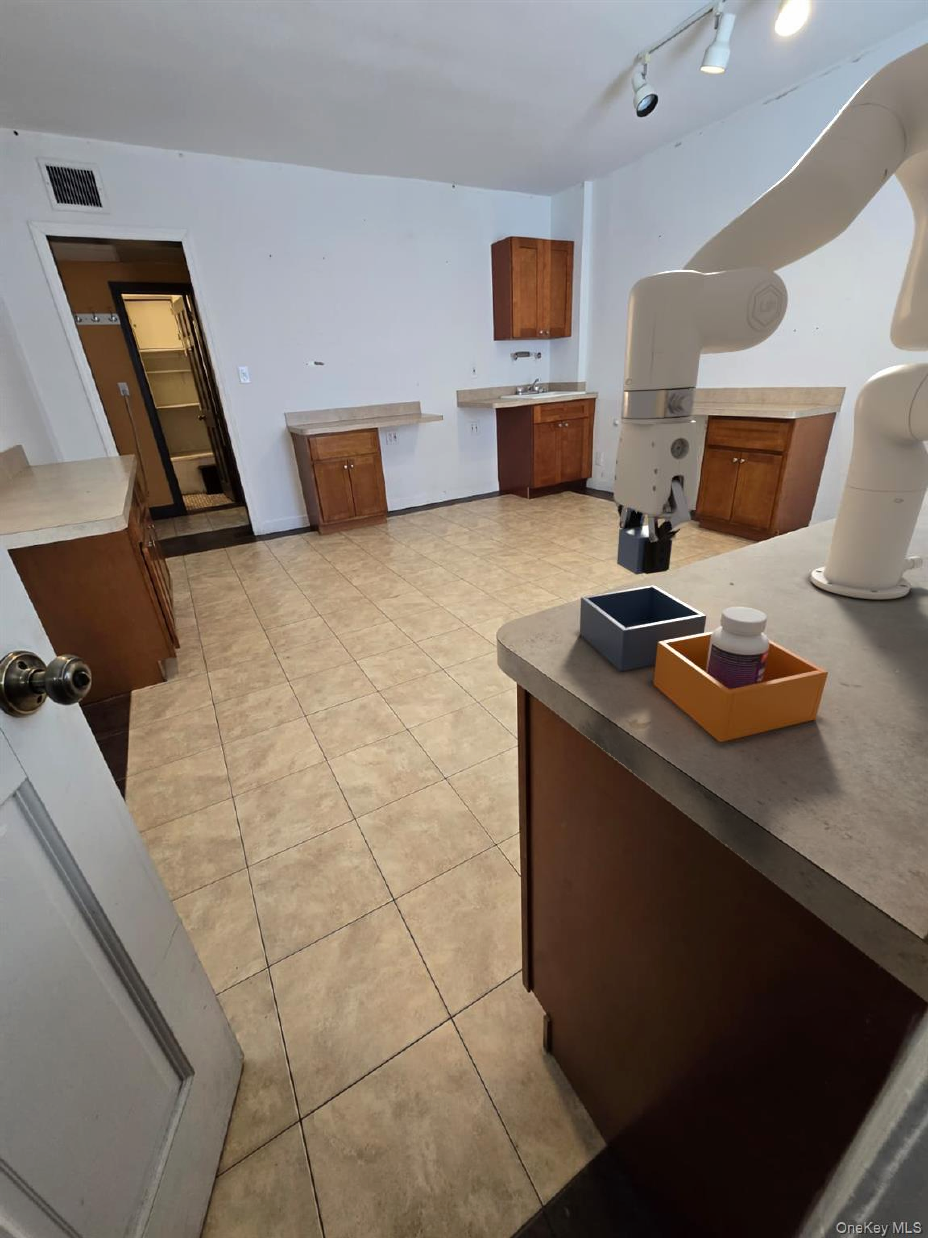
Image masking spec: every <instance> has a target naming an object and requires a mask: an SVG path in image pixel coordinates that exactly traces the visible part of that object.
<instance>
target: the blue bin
mask: <svg viewBox="0 0 928 1238" xmlns="http://www.w3.org/2000/svg"><path fill="white" fill-rule="evenodd" d="M579 614H580V615H579V634H580V636H581V637H583V638H584V639H585V640H586V641H587V642H588V643H589V644H590V645H591V646H593V647H594V649H596V650H597V651H598V652H599V653H600V654H601V655H602V656H603V657H604V658H606V659H607V660H608V661H609V662H610V663H611V664H612V665H613V666H614V667H615V668H616V669H618V671H619V672H625V671H631V670H635V669H641V668H646V667H650V666H656V656H657V647H658V642H660V641H665V640H670V639H675V638H681V637H686V636H691V635H696V634H702V633H705V629H706V622H707V615H706V614H704V613H703V612H701V611H699V610H698V609H696V608H694V607H692V606H690V605H689V604H688V603H686V602H684V601H682V600H680V599H679V598H677V597H675V596H673V595H671V594H670V593H668V592H666V591H664V590H662V589H661V588H659V587H658V586H656V585H653V584H652V585H648V586H641V587H635V588H628V589H623V590H617V591H610V592H605V593H598V594H592V595H586V596H580V613H579Z"/></svg>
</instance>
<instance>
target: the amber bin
mask: <svg viewBox="0 0 928 1238" xmlns="http://www.w3.org/2000/svg"><path fill="white" fill-rule="evenodd" d="M713 631H714V630H713ZM713 631H707V632H704V633H702V634H696V635H691V636H686V637H681V638H675V639H670V640H665V641H660V642H658V647H657V656H656V665H654V666H655V667H654V676H653V685H654V687H656V688H657V689H659V691H660V692H662V693H663V694H664V695H665V696H666V697H668V699H670V700H671V701H672V702H673V703H674V704H675V705H676V706H677V707H679V708H680V709H681V710H682V711H683V712H684V713H685V714H687V715H688V716H689V717H690V718H691V719H692V720H693V721H695V722H696V723H697V724H698V725H700V726H701V727H702V728H703V729H704V730H705V731H706V732H707V733H708V734H709V735H711V736H712V737H713V738H714V739H715V740H716V741H718V742H719V743H723V742H727V741H731V740H735V739H736V740H737V739H739V738H740V739H741V738H743V737H748V736H752V735H756V734H760V733H763V732H764V733H765V732H769V731H773V730H776V729H781V728H785V727H789V726H793V725H798V724H802V723H806V722H811V721H814V720H816V719H817V716H818V711H819V709H820V704H821V700H822V696H823V693H824V689H825V686H826V682H827V678H828V675H829V671H828V670H826V669H824V668H822V667H820V666H818V665H817V664H814V663H813V662H811V661H809V660H808V659H806V658H804V657H802V656H800V655H799V654H797V653H794V652H793V651H791V650H790V649H787V648H785V647H784V646H782V645H780V644H778V643H776V642H775V641H773V640H771V639H769V643H770V644H769V651H768V655H767V660H766V665H765V670H764V675H763V680H762V683H757V684H753V685H748V686H744V687H739V688H734V689H730V690H729V689H728V688H727V687H725V686H724V685H722V684H721V683H720V682H718V681H717V680H716V679H714V678H713V677H711V676H710V675H709V674H707V673H706V672H705V671H706V664H707V658H708V651H709V644H710V638H711V634H712V632H713Z"/></svg>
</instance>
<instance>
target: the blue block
mask: <svg viewBox="0 0 928 1238" xmlns="http://www.w3.org/2000/svg"><path fill="white" fill-rule="evenodd" d="M647 540H649V533H648V525H643V526H641V527H634V528H626V529H621V528H619V531H618V544H617V557H616V559H617V560H616V564H617V565H619V566H620V567H622V568H624V569H625V570H627V571H629V572H631V573H633V574H634V575H642V574H644V573H643V571H642V567H643V556H644V545H645V541H647ZM672 548H673V540H672V541H671V550H670V559H669V567H668V570H670V564H671V555H672ZM668 570H667V571H668Z"/></svg>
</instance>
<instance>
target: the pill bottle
mask: <svg viewBox="0 0 928 1238" xmlns="http://www.w3.org/2000/svg"><path fill="white" fill-rule="evenodd" d="M767 620H768V617H767V614H766V613H764V612H763V611H761V610H758V609H756V608H753V607H746V606H731V607H727V608H724V609H723V610H722V612H721V617H720V622H719V623H720V626H717V627H716V628H715V629H713V632H712V631H711V632H712V634H711V638H710V644H709V651H708V658H707V664H706V671H705V672H706V673H707V674H709V675H710V676H711V677H713V678H714V679H716V680H717V681H718V682H720V683H721V684H722V685H724V686H725V687H727V688H728V689H729V690H730V689H734V688H739V687H744V686H748V685H753V684H757V683H762V680H763V675H764V670H765V665H766V660H767V655H768V651H769V644H770V643H769V640H770V639H769V637H768V636H767V635H766V633H764V631H765V629H766V626H767Z"/></svg>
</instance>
